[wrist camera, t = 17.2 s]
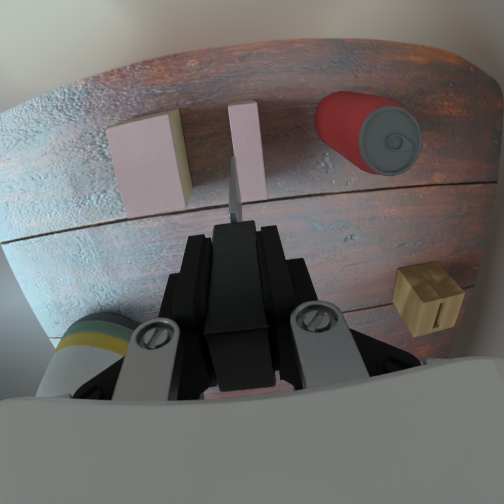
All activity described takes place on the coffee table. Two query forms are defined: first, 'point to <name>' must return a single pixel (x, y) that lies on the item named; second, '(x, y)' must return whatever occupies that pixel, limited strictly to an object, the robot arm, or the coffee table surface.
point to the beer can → (369, 132)
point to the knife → (237, 304)
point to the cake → (151, 163)
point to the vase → (86, 352)
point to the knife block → (427, 298)
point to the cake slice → (248, 149)
